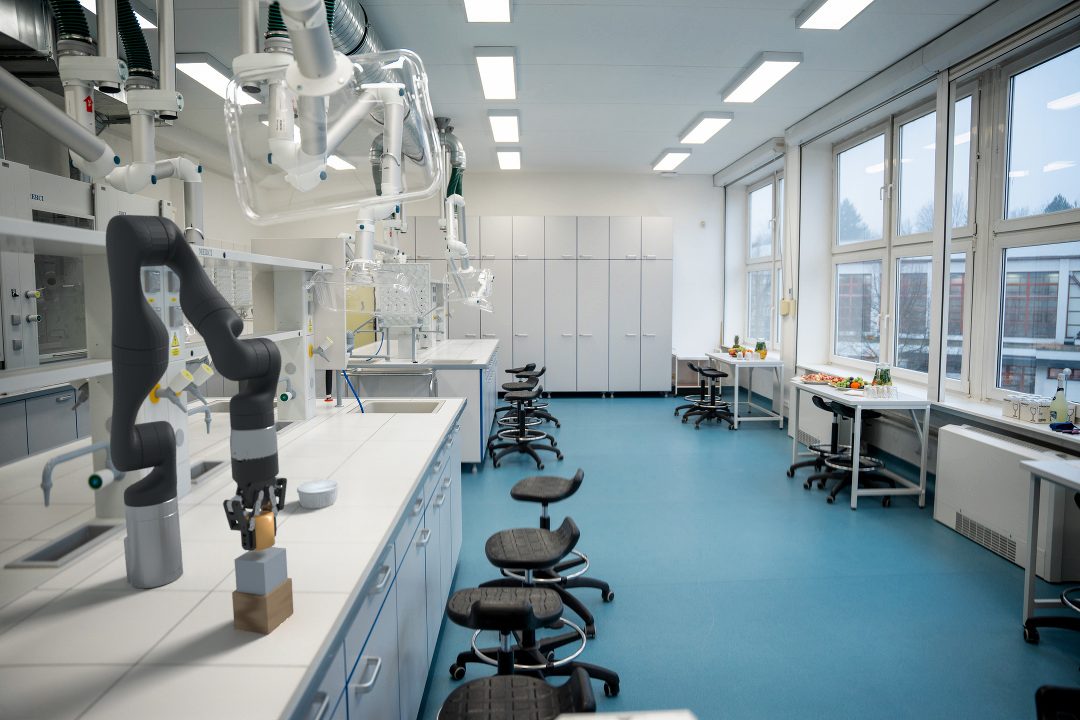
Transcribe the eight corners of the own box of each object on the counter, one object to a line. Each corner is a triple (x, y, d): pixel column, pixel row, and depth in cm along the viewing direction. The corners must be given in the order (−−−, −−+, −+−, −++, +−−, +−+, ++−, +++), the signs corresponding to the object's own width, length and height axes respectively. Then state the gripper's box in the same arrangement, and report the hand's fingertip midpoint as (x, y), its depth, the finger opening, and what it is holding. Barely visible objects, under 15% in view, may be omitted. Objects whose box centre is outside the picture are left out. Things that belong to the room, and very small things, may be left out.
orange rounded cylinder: (239, 549, 105) (237, 519, 104) (258, 538, 110) (256, 509, 109) (262, 552, 104) (261, 522, 103) (280, 540, 109) (279, 512, 108)
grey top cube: (236, 591, 105) (234, 559, 105) (259, 575, 111) (257, 545, 111) (265, 595, 104) (263, 562, 103) (287, 579, 110) (285, 548, 109)
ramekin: (324, 512, 162) (323, 493, 161) (288, 508, 164) (288, 490, 164) (347, 498, 173) (346, 480, 172) (313, 495, 175) (312, 478, 175)
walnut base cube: (234, 629, 106) (232, 592, 105) (261, 609, 113) (259, 574, 112) (268, 634, 104) (266, 597, 104) (293, 613, 111) (291, 578, 110)
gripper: (263, 440, 112) (268, 526, 114) (205, 461, 99) (212, 558, 101) (298, 442, 111) (302, 529, 113) (243, 464, 97) (250, 563, 99)
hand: (259, 542), depth 107 cm, fingers closed on orange rounded cylinder, 4 cm apart
